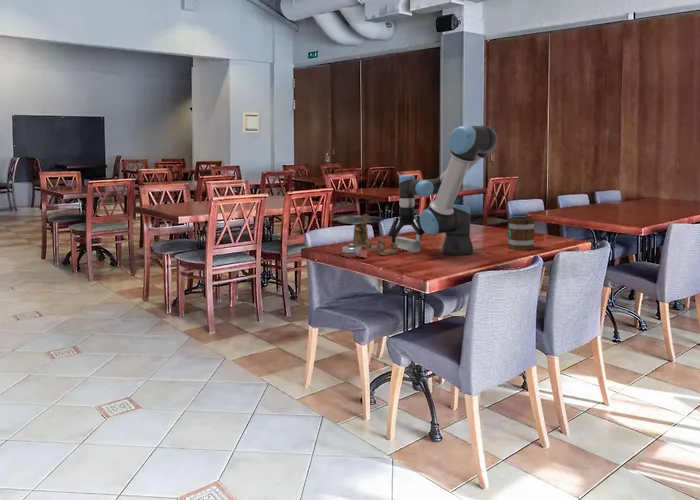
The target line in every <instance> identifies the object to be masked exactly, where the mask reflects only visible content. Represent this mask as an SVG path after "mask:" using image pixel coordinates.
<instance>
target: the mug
mask: <svg viewBox="0 0 700 500" xmlns="http://www.w3.org/2000/svg"><path fill="white" fill-rule="evenodd" d="M535 222H536V218H535V217H532V216H519V215H518V216H517V215H516V216H508V232H507V234H508V237H507V238H508V246H507V250H512V251H529V250H528V249H533V250H534V249H535V245H534V244H535V243H534V241H535Z"/></svg>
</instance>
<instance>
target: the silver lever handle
mask: <svg viewBox="0 0 700 500" xmlns="http://www.w3.org/2000/svg"><path fill="white" fill-rule="evenodd" d="M341 253H344V254H354V255H357V256H360V257H364V258H368V256H367V254H368V252H367V250H365V249H363V248H361V247H360V246H356V244H355V243H353V242H351V243H348V244H347V245H345V246H342V252H341ZM360 257H359V258H360Z"/></svg>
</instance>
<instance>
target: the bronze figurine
mask: <svg viewBox="0 0 700 500" xmlns="http://www.w3.org/2000/svg"><path fill="white" fill-rule="evenodd" d="M370 220H371V215H369V214H368V213H364V214H362V215H361V216H360V217H359V218H358V223H356V224H354V227H353V239H352V243H355V244H356V245H365V241H369V234H368V232H369V231H368V230H369V229H368V227H367V224H368V223H369V222H370Z"/></svg>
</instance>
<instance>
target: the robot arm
mask: <svg viewBox="0 0 700 500" xmlns="http://www.w3.org/2000/svg"><path fill="white" fill-rule="evenodd" d="M448 143H449V144H448V145H449V149H450V151H449V153H450V155H451V157H450V161H449V162H448V165H447V168H446V169H445V171H443V172H442V173H441V174H440V175H439V176H438V177H437V178H432V179H431V178H430V179H416V177H415V175H413V174H401V175H400V176H399V181H398V193H399V194H398V195H399V197H398V198H399V200H398V202H399V203H398V204H399V208H398V214H399V216H393V220H392V221H393V222H392V224H391V226H390V229H389V231H388V233H387V236H388V237H391V243H396V244H397V237H398V234H399V233H400V231H401V230H402V228H404V226H411V227H412V229H413V230H414V232H415V233H416V234H415V240H418V241H420V242H421V241H422V236H423V235H424V234H426V235H427V234H428V235H438V234H444V233H445V237H444V240H443V243H442V247H441V253H442V254H446V255H453V256H464V255H471V254H473V253H474V245H473V242H472V239H471V208H470V206H468V205H464V204H463V205H462V204H455V201H456V199H457V197H458V194H459V191H460V189H461V186H462V185H463V184H462V183H463V181H464V179H465V177H466V174H467V173H468V172H469V170H471V169H472V168H473V167H474V166H475V165H476V164H477V163H478V162H479V161H480V160H482V159H485V158H487V157H488V156H489V155H490V154H492V153H493V151H494V150H495V148H496V147H497V144H498V135H497V133H496V131H495V130H494V129H493V128H492V127H490V126H488V125H461V126H458V127H456V128H454V129H453V130H452V132H451V133H450V134H449V138H448ZM433 195H434V196H435V195H436V196H435V198H434V200H432V201H431V202H430V203H429V204H428V206H427V207H428V208H427V209H424V210H422V211H421V213H420V215H419V214H415V202H416V201H415V196H418V197H422V198H423V197H430V196H433Z"/></svg>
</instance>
